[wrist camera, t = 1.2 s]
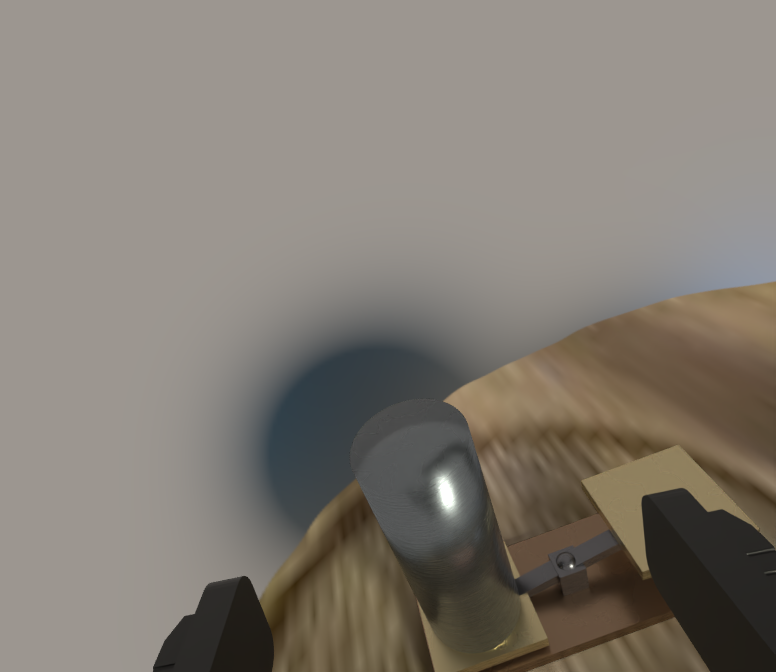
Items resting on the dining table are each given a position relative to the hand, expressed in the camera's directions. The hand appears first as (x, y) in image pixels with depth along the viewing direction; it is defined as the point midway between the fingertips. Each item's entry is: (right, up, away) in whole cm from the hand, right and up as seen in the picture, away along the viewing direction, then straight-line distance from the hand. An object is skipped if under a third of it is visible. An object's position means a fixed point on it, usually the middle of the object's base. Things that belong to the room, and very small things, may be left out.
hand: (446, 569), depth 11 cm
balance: (+10, -11, +22) cm, 26 cm away
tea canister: (+4, -11, +21) cm, 24 cm away
